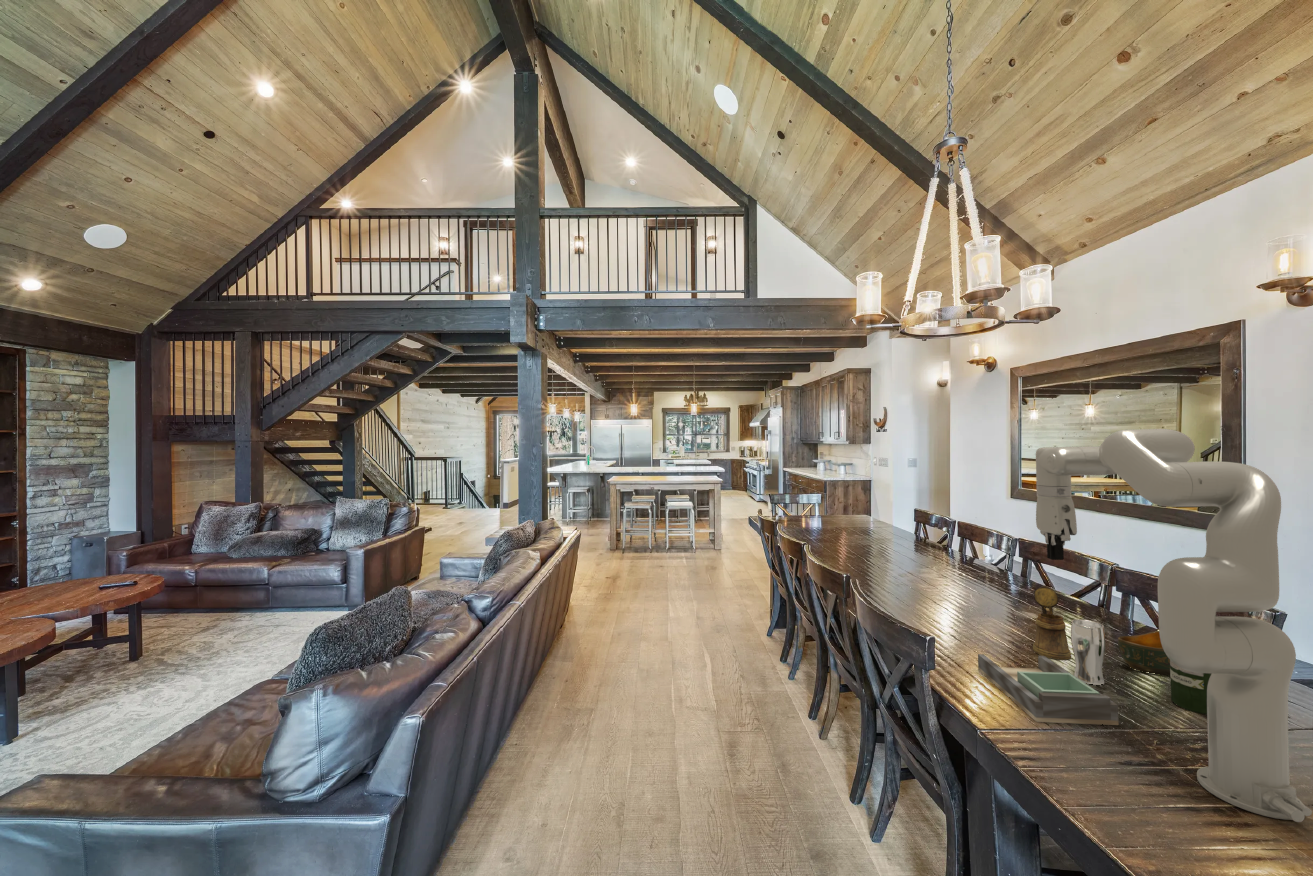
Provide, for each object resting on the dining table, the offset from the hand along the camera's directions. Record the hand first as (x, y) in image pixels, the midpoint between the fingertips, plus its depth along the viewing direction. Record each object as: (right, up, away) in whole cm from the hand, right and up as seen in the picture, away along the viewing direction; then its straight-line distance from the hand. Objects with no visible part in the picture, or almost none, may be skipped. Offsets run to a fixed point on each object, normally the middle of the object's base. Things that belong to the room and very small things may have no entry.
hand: (1055, 559), depth 139 cm
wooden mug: (+9, -31, +14) cm, 35 cm away
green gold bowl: (+30, -31, 0) cm, 43 cm away
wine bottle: (+19, -31, -18) cm, 40 cm away
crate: (-14, -30, -18) cm, 38 cm away
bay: (-13, -31, -12) cm, 36 cm away
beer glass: (+5, -31, -5) cm, 32 cm away
